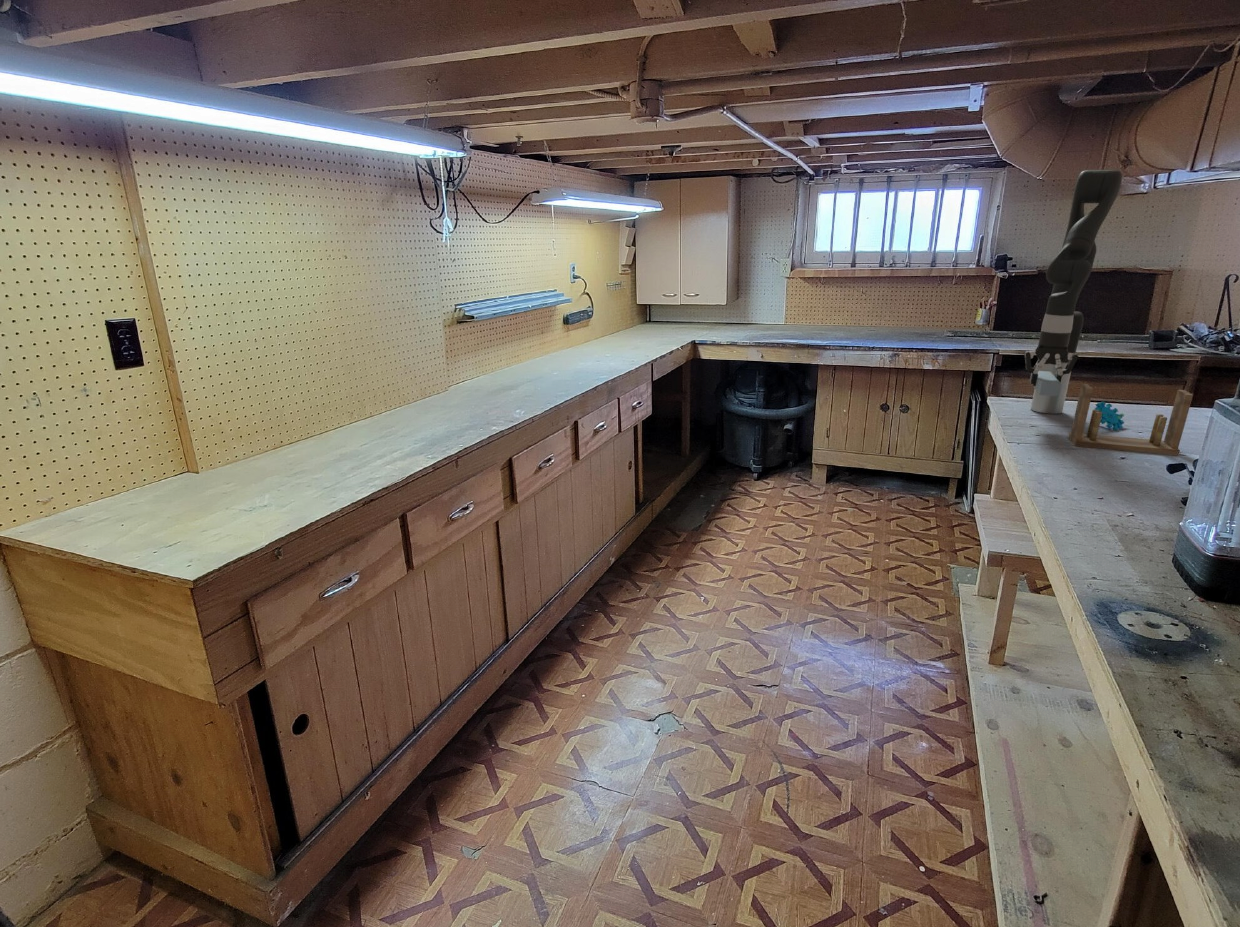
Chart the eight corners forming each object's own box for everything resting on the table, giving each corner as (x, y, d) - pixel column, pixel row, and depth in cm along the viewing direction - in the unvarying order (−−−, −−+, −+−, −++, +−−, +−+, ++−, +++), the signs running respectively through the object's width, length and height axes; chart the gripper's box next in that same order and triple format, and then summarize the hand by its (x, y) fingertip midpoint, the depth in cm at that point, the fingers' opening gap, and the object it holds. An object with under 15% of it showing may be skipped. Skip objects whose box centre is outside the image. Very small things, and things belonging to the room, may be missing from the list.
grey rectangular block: (1029, 381, 211) (1031, 370, 210) (1047, 382, 209) (1050, 371, 208) (1039, 395, 196) (1041, 383, 194) (1059, 396, 194) (1061, 384, 193)
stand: (1068, 437, 197) (1080, 382, 192) (1166, 446, 189) (1182, 389, 183) (1075, 446, 189) (1088, 389, 184) (1178, 455, 181) (1195, 396, 175)
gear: (1106, 427, 201) (1093, 399, 206) (1089, 436, 206) (1076, 409, 211) (1133, 429, 204) (1119, 401, 209) (1116, 438, 210) (1102, 411, 214)
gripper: (1081, 329, 197) (1069, 385, 203) (1026, 327, 202) (1015, 382, 208) (1087, 333, 190) (1074, 391, 196) (1030, 330, 196) (1019, 387, 201)
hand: (1044, 386), depth 202 cm, fingers closed on grey rectangular block, 5 cm apart
